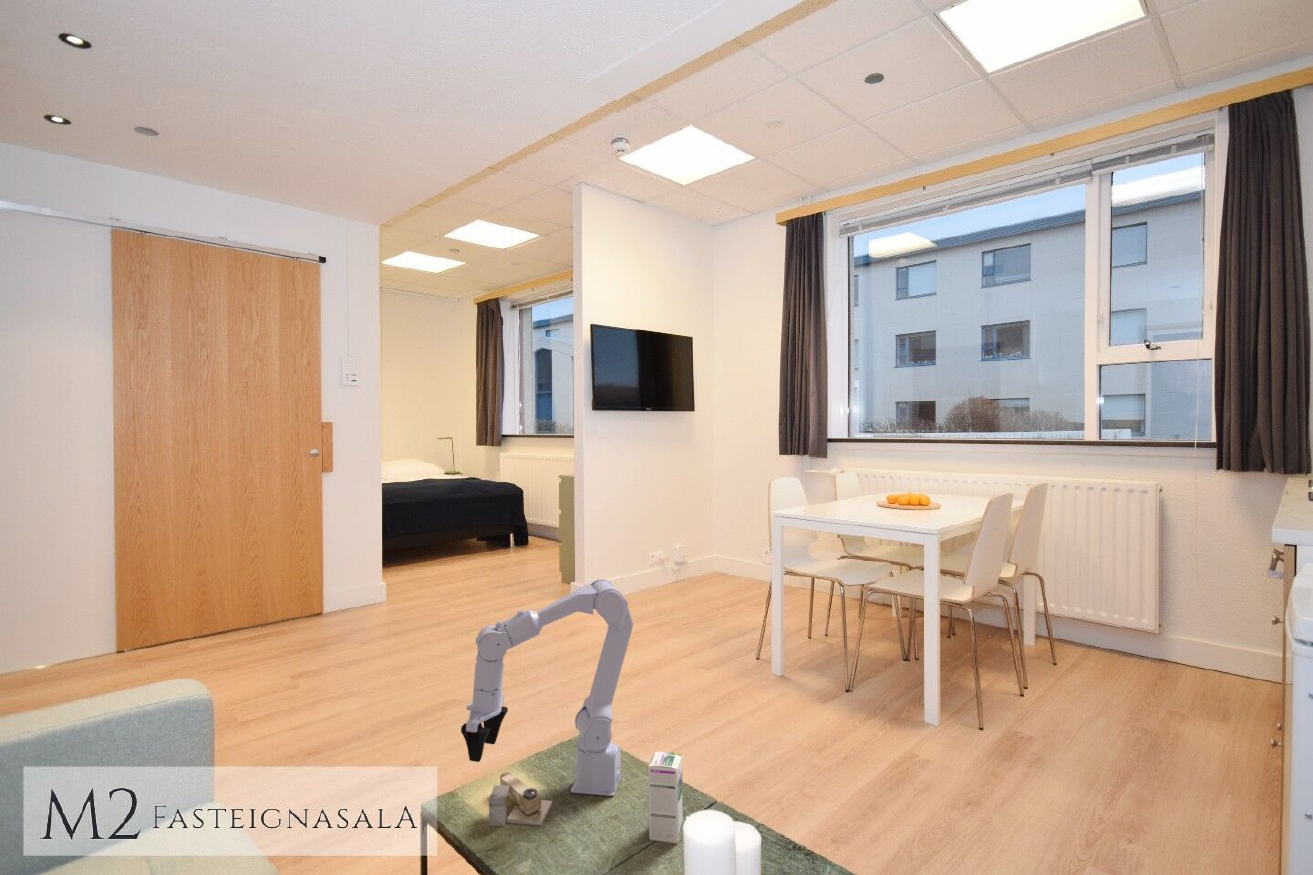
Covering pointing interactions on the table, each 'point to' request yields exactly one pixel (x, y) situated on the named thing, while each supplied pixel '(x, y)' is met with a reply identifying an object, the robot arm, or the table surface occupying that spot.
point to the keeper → (498, 805)
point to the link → (520, 793)
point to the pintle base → (532, 818)
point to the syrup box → (665, 797)
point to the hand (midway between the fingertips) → (482, 751)
